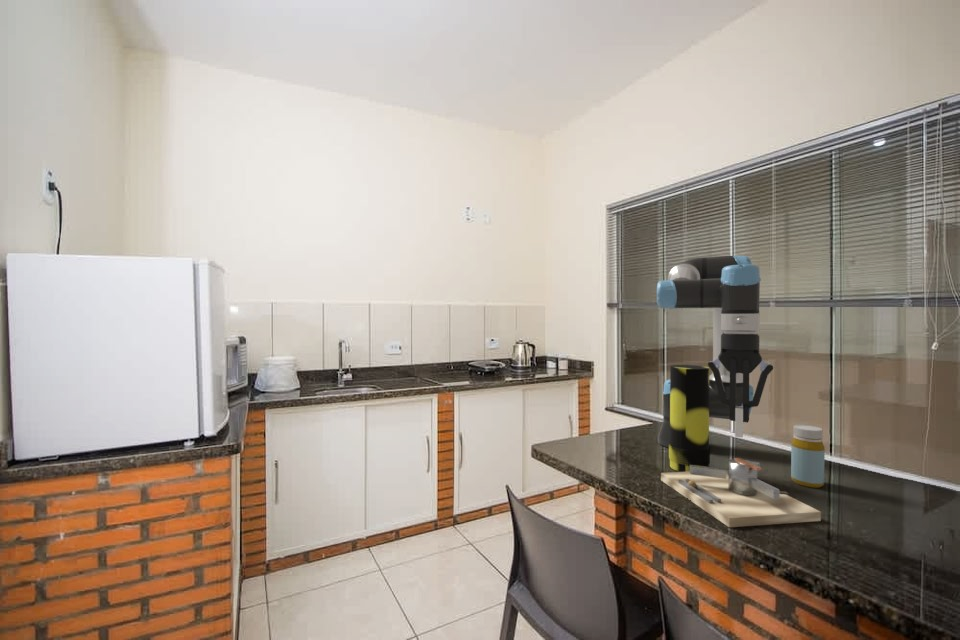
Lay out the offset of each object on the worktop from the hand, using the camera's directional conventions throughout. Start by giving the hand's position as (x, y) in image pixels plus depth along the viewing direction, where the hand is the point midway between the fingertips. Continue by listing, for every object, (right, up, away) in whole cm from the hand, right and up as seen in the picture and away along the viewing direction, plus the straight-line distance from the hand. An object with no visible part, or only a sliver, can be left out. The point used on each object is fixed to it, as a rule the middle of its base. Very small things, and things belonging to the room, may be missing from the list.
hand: (739, 435), depth 97 cm
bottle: (+29, -18, +17) cm, 38 cm away
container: (+2, -18, +27) cm, 32 cm away
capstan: (+5, -15, +5) cm, 17 cm away
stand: (+3, -17, +7) cm, 19 cm away
